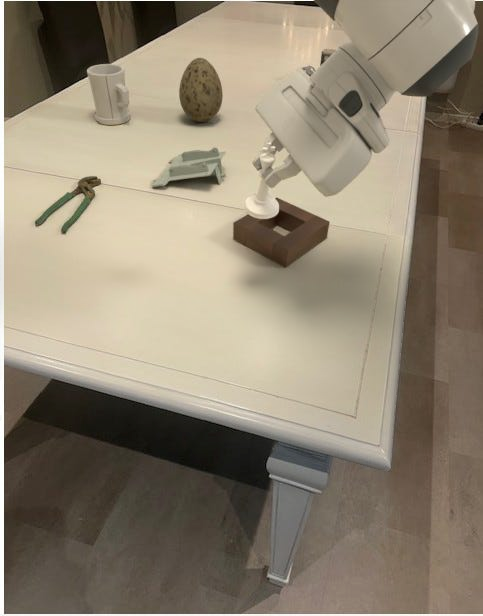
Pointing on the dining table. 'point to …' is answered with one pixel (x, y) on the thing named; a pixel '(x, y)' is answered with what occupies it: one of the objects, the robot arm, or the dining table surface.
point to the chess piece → (263, 191)
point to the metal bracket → (193, 166)
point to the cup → (109, 93)
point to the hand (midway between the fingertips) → (261, 175)
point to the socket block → (276, 246)
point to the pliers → (82, 187)
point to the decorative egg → (200, 91)
